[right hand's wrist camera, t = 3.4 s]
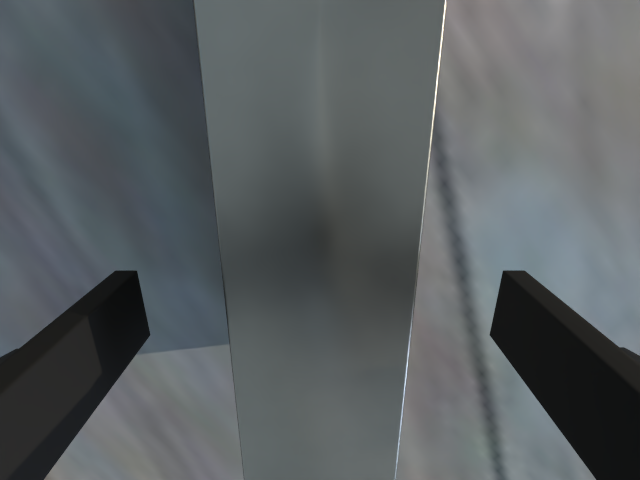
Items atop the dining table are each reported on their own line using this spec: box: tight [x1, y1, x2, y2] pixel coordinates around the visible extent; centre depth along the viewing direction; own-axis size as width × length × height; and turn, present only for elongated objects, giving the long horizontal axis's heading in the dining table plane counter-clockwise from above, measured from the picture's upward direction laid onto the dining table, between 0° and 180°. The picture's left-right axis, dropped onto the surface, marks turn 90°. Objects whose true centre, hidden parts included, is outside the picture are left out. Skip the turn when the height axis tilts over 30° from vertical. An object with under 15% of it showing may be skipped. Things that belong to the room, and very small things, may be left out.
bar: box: [193, 0, 447, 480], centre depth 10 cm, size 24×4×8 cm, turn 0°
